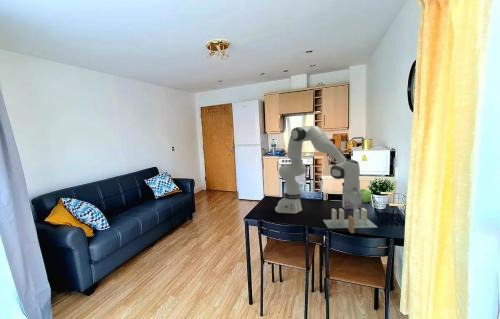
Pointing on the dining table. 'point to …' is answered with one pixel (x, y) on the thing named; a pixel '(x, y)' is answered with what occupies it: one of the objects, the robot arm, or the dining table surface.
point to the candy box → (351, 202)
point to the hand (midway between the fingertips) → (351, 207)
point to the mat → (361, 225)
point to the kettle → (366, 196)
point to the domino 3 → (351, 224)
